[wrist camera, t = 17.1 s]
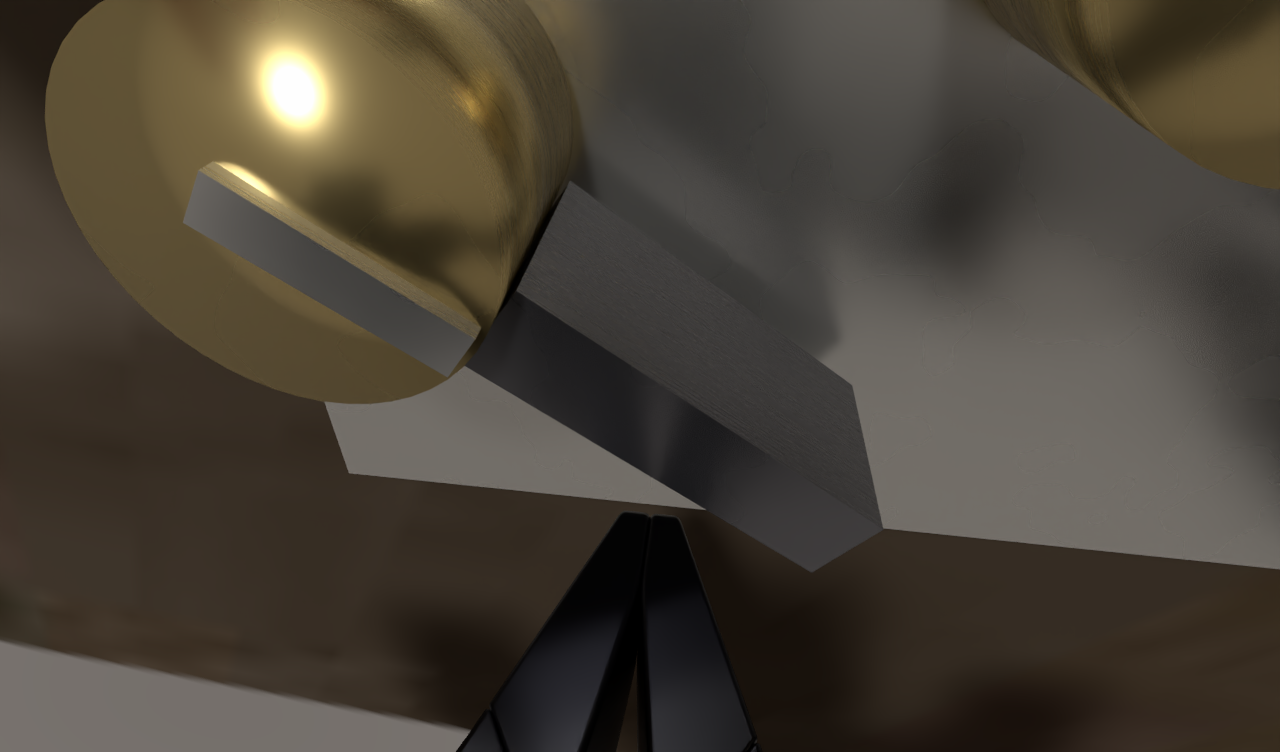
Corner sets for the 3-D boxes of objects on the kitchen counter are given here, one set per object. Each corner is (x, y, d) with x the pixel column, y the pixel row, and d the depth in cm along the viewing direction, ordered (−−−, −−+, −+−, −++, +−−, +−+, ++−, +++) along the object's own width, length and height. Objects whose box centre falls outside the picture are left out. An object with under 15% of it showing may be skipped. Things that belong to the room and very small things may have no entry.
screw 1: (233, 138, 9) (7, 270, 6) (329, -161, 7) (52, -166, 4) (739, 460, 12) (740, 655, 9) (922, 316, 10) (999, 511, 7)
